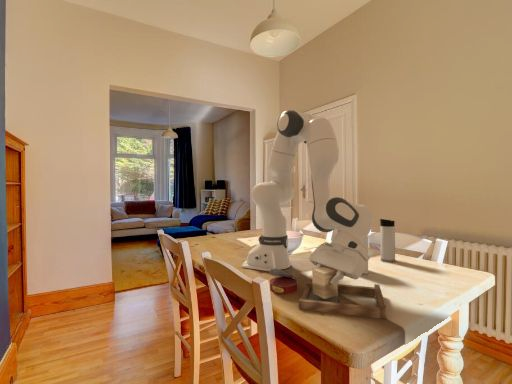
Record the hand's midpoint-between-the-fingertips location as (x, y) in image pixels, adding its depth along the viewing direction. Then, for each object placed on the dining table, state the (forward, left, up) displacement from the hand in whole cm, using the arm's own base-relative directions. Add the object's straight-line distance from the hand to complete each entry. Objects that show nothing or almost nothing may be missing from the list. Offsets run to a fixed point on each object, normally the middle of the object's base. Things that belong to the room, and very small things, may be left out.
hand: (323, 281), depth 89 cm
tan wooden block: (0, 0, -4) cm, 4 cm away
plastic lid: (-4, +58, -7) cm, 59 cm away
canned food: (-15, +6, -7) cm, 17 cm away
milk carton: (+11, +33, -7) cm, 36 cm away
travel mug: (+25, +53, -7) cm, 60 cm away
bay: (+5, 0, -6) cm, 8 cm away
